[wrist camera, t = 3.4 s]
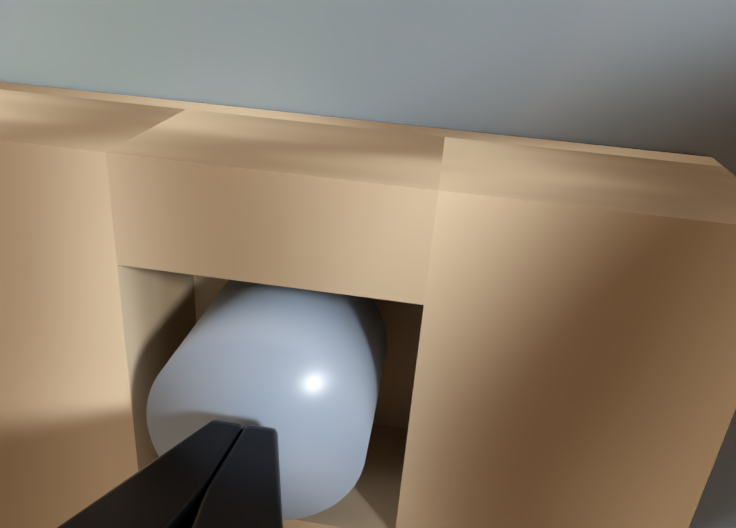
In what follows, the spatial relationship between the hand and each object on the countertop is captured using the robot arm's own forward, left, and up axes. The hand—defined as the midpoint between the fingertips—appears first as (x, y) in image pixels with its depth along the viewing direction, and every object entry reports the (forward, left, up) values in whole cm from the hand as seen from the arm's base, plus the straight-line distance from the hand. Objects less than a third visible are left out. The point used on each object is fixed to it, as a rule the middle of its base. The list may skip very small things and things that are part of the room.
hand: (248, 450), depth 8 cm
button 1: (0, 0, -3) cm, 3 cm away
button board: (0, +5, -4) cm, 7 cm away
